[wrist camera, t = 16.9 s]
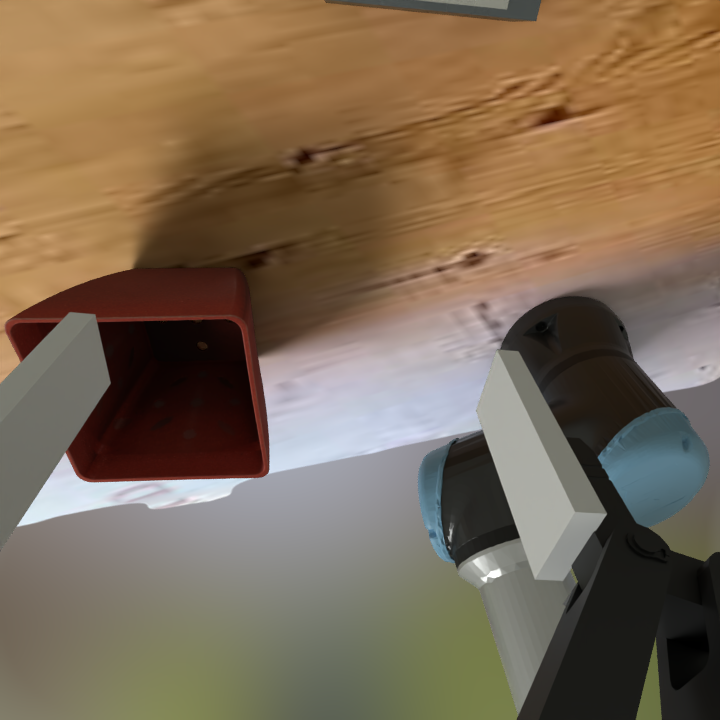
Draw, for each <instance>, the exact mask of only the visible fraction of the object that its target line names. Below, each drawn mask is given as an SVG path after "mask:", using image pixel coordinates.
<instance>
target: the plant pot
mask: <svg viewBox="0 0 720 720" xmlns="http://www.w3.org/2000/svg"><path fill="white" fill-rule="evenodd" d="M69 312H74V313H85V314H95V316H96V320H97V325H98V329H99V333H100V338H101V342H102V347H103V351H104V356H105V360H106V365H107V369H108V373H109V378H110V382H111V384H110V385H109V387H108V388H107V390H106V391H105V393H104V394H103V396H102V397H101V399H100V400H99V402H98V403H97V405H96V406H95V408H94V409H93V411H92V412H91V414H90V415H89V417H88V419H87V420H86V422H85V423H84V425H83V426H82V428H81V429H80V431H79V432H78V434H77V435H76V437H75V438H74V440H73V441H72V443H71V444H70V446H69V447H68V449H67V450H66V454H67V456H68V458H69V461H70V463H71V465H72V467H73V469H74V471H75V473H76V475H77V476H78V477H79V478H80V479H82V480H84V481H87V482H119V481H151V480H185V479H226V478H259V477H264V476H265V475H267V474H268V472H269V433H268V421H267V412H266V404H265V397H264V391H263V384H262V378H261V373H260V367H259V360H258V354H257V347H256V339H255V331H254V323H253V315H252V307H251V299H250V291H249V286H248V283H247V279H246V277H245V275H244V273H243V272H242V271H241V270H239V269H237V268H148V269H131V270H126V271H122V272H118V273H114V274H110V275H107V276H103V277H100V278H97V279H93V280H90V281H88V282H85V283H82V284H80V285H77V286H74V287H72V288H69V289H67V290H65V291H62V292H60V293H58V294H56V295H53V296H51V297H49V298H47V299H45V300H43V301H41V302H39V303H37V304H35V305H33V306H31V307H29V308H28V309H26V310H24V311H22V312H21V313H19V314H17V315H16V316H14V317H12V318H11V319H9V320H8V321H7V322H6V323H5V332H6V334H7V336H8V338H9V340H10V342H11V344H12V346H13V348H14V350H15V352H16V354H17V355H18V357H19V359H20V362H22V361H23V360H24V359H25V358H26V357H27V356H28V355H29V354H30V353H31V352H32V351H33V350H34V349H35V347H36V346H37V345H38V344H39V343H40V342H41V341H42V340H43V339H44V338H45V337H46V336H47V335H48V334H49V333H50V332H51V331H52V330H53V329H54V328H55V327H56V326H57V325H58V324H59V323H60V322H61V321H62V320H63V319H64V318H65V316H66V315H67V314H68V313H69ZM200 319H203V320H202V322H201V323H199V324H195V323H192V322H191V321H190V320H200ZM225 319H229V320H232V321H234V322H232V323H230V322H227V321H226V320H225ZM160 320H168V321H167V322H165V323H159V322H158V321H160ZM198 342H205V343H206V344H207V345H208V348H207V349H206V350H204V351H202V350H199V349H198V348H197V346H196V344H197V343H198Z"/></svg>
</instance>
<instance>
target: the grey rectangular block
mask: <svg viewBox="0 0 720 720" xmlns="http://www.w3.org/2000/svg"><path fill="white" fill-rule="evenodd" d="M324 1H325V2H326V3H333V4H343V5H353V6H363V7H373V8H383V9H393V10H403V11H413V12H423V13H433V14H443V15H452V16H462V17H472V18H482V19H492V20H502V21H512V22H515V21H536V20H537V15H538V11H539V7H540V3H541V0H324Z"/></svg>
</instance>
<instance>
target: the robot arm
mask: <svg viewBox="0 0 720 720" xmlns="http://www.w3.org/2000/svg"><path fill="white" fill-rule="evenodd" d="M110 384H111V382H110V378H109V373H108V369H107V365H106V360H105V356H104V351H103V347H102V342H101V338H100V333H99V329H98V325H97V320H96V316H95V314H85V313H74V312H69V313H68V314H67V315H66V316H65V318H64V319H63V320H62V321H61V322H60V323H59V324H58V325H57V326H56V327H55V328H54V329H53V330H52V331H51V332H50V333H49V334H48V335H47V336H46V337H45V338H44V339H43V340H42V341H41V342H40V343H39V344H38V345H37V346H36V347H35V349H34V350H33V351H32V352H31V353H30V354H29V355H28V356H27V357H26V358H25V359H24V360H23V361H22V362H21V363H20V364H19V365H18V366H17V367H16V368H15V369H14V370H13V371H12V372H11V373H10V374H9V375H8V376H7V377H6V378H5V380H4V381H3V382H2V383H1V384H0V551H1V549H2V548H3V546H4V545H5V543H6V542H7V540H8V539H9V537H10V536H11V534H12V533H13V531H14V529H15V528H16V527H17V525H18V524H19V522H20V520H21V519H22V517H23V516H24V514H25V513H26V511H27V510H28V508H29V507H30V505H31V504H32V502H33V501H34V499H35V498H36V496H37V495H38V493H39V492H40V490H41V489H42V487H43V485H44V484H45V482H46V481H47V479H48V478H49V476H50V475H51V473H52V472H53V470H54V469H55V467H56V466H57V464H58V463H59V461H60V460H61V458H62V457H63V455H64V454H65V452H66V450H67V449H68V447H69V446H70V444H71V443H72V441H73V440H74V438H75V437H76V435H77V434H78V432H79V431H80V429H81V428H82V426H83V425H84V423H85V422H86V420H87V419H88V417H89V415H90V414H91V412H92V411H93V409H94V408H95V406H96V405H97V403H98V402H99V400H100V399H101V397H102V396H103V394H104V393H105V391H106V390H107V388H108V387H109V385H110ZM476 412H477V415H478V418H479V421H480V424H481V426H482V429H483V430H481V431H478V432H476V433H473V434H470V435H468V436H465V437H463V438H460V439H459V438H456V439H453V440H452V441H450V442H449V444H447V445H445V446H442V447H440V448H438V449H436V450H433V451H431V452H430V453H428V454H427V455H426V456H425V457H424V459H423V461H422V463H421V465H420V468H419V474H418V493H419V501H420V507H421V512H422V516H423V520H424V524H425V527H426V528H427V529H428V530H429V538H430V541H431V543H432V546H433V548H434V550H435V551H436V553H437V554H438V556H439V557H440V558H441V559H443V560H444V561H446V562H451V563H455V564H456V567H457V571H458V574H459V576H460V577H461V578H463V579H464V580H466V581H468V582H469V583H471V584H472V585H474V586H475V587H477V588H478V589H479V591H480V593H481V597H482V600H483V603H484V606H485V609H486V612H487V616H488V619H489V622H490V626H491V629H492V632H493V635H494V638H495V642H496V645H497V648H498V651H499V654H500V658H501V661H502V664H503V667H504V671H505V674H506V677H507V680H508V684H509V687H510V690H511V693H512V696H513V700H514V703H515V706H516V709H517V713H518V718H517V720H636V716H637V711H638V707H639V703H640V699H641V695H642V691H643V687H644V682H645V679H646V674H647V670H648V666H649V662H650V658H651V654H652V650H653V646H654V642H655V637H656V645H657V658H658V672H659V686H660V699H661V714H662V720H720V552H716V553H714V554H713V555H711V556H710V557H709V558H708V559H707V561H705V562H704V561H701V560H697V559H694V558H692V557H689V556H685V555H683V554H679V553H676V552H673V551H671V550H670V548H669V546H668V545H667V544H666V543H665V541H664V540H663V539H662V538H661V537H660V536H659V535H657V534H656V533H655V532H653V531H652V530H650V529H649V528H648V527H651V526H653V525H656V524H658V523H660V522H662V521H664V520H666V519H668V518H670V517H671V516H673V515H674V514H676V513H677V512H679V511H680V510H681V509H682V508H684V507H685V506H686V505H687V504H688V503H689V502H690V501H691V500H692V499H693V497H694V496H695V495H696V494H697V493H698V491H699V490H700V489H701V488H702V486H703V484H704V482H705V480H706V478H707V475H708V471H709V465H710V460H709V454H708V450H707V448H706V446H705V444H704V442H703V441H702V440H701V438H700V437H699V436H698V434H697V433H696V432H695V431H694V429H693V428H692V427H691V424H690V421H689V420H688V418H687V417H686V416H685V414H684V413H682V412H681V411H680V410H679V409H677V408H676V407H675V406H674V405H673V404H672V402H671V401H670V400H669V399H668V398H667V397H666V396H665V395H664V393H663V392H662V391H661V390H660V389H659V388H658V387H657V386H656V384H655V383H654V382H653V381H652V380H651V379H650V378H649V377H648V375H647V374H646V373H645V372H644V371H643V370H642V369H641V368H640V366H639V365H638V364H637V363H636V362H635V361H634V359H633V355H632V351H631V347H630V343H629V341H628V335H627V332H626V329H625V327H624V325H623V323H622V322H621V320H620V319H619V318H618V317H617V316H616V315H615V314H614V313H613V311H612V310H611V309H610V308H608V307H607V306H606V305H605V304H603V303H601V302H599V301H597V300H594V299H591V298H586V297H564V298H559V299H555V300H552V301H549V302H546V303H544V304H541V305H539V306H537V307H536V308H534V309H532V310H531V311H529V312H528V313H526V314H525V315H524V316H522V317H521V318H520V319H519V320H518V321H517V322H516V323H515V324H514V325H513V326H512V328H511V329H510V330H509V332H508V333H507V335H506V337H505V339H504V341H503V343H502V346H501V350H497V351H496V354H495V357H494V360H493V362H492V365H491V368H490V371H489V374H488V377H487V380H486V383H485V386H484V389H483V392H482V394H481V397H480V400H479V403H478V406H477V409H476ZM571 568H572V569H573V571H574V573H575V576H576V578H577V580H578V583H577V584H576V583H575V581H574V579H573V576H572V574H571V572H570V569H571Z"/></svg>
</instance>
